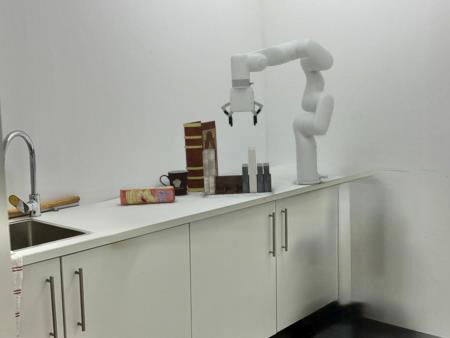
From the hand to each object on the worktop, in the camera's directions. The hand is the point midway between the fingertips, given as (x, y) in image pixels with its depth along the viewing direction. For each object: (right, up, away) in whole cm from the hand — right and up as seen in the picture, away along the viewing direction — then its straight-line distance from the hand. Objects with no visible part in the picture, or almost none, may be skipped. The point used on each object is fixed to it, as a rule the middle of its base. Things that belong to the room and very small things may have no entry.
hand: (243, 125), depth 258 cm
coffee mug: (-30, -29, +9) cm, 43 cm away
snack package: (-37, -32, -9) cm, 50 cm away
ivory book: (+4, -27, +6) cm, 28 cm away
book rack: (-2, -28, +6) cm, 29 cm away
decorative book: (-21, -27, +26) cm, 43 cm away
